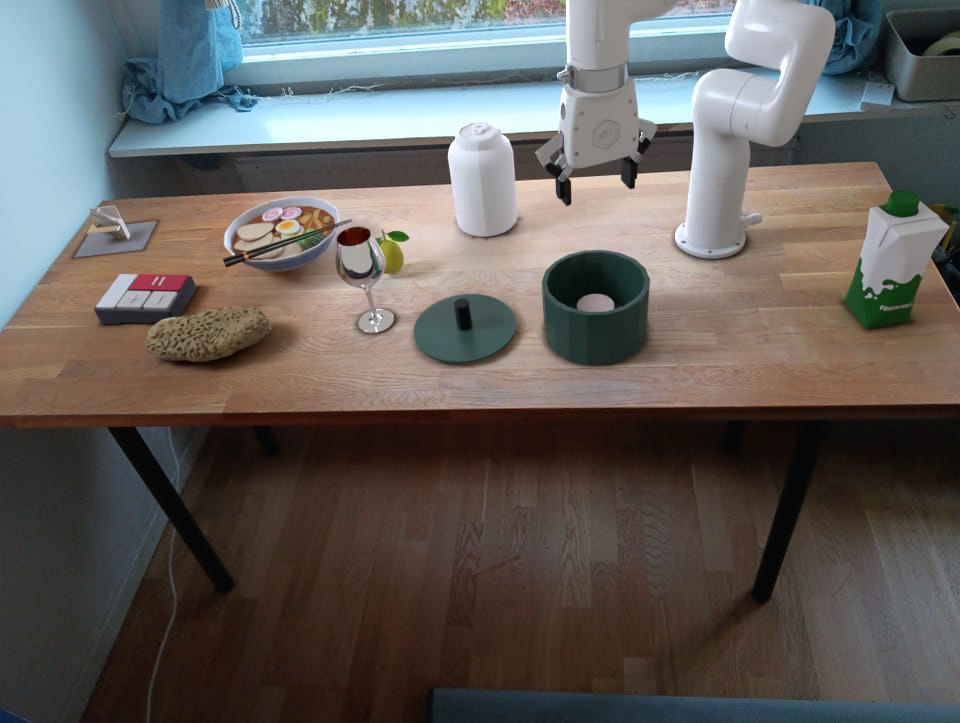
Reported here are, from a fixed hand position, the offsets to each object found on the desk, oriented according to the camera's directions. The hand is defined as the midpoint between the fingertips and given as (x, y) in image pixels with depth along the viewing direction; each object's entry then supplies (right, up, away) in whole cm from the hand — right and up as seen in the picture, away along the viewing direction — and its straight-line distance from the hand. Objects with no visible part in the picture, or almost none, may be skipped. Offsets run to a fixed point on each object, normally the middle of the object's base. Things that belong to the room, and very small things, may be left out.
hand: (596, 192), depth 103 cm
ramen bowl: (-54, -3, +43) cm, 70 cm away
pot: (+3, -19, +18) cm, 26 cm away
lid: (-19, -18, +21) cm, 34 cm away
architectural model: (-96, +3, +56) cm, 111 cm away
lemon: (-33, -7, +36) cm, 49 cm away
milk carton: (+48, -16, +15) cm, 52 cm away
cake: (+3, -18, +18) cm, 26 cm away
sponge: (-63, -22, +25) cm, 71 cm away
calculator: (-80, -13, +36) cm, 89 cm away
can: (-15, +5, +46) cm, 48 cm away
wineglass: (-35, -17, +26) cm, 47 cm away
